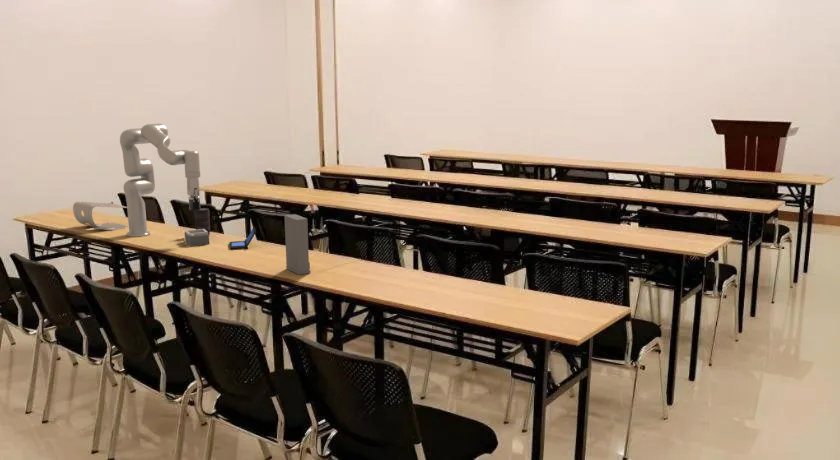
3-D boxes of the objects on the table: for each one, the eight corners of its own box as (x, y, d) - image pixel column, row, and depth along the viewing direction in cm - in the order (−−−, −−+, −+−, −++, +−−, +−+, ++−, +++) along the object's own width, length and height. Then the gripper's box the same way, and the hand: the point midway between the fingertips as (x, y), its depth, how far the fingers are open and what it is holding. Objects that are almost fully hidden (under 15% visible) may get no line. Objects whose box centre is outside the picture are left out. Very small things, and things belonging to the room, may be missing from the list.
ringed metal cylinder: (188, 209, 384) (187, 196, 382) (199, 208, 386) (198, 195, 385) (190, 211, 379) (189, 198, 377) (201, 210, 381) (200, 197, 380)
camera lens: (213, 234, 409) (211, 208, 406) (207, 237, 401) (205, 210, 398) (199, 233, 409) (197, 207, 406) (193, 236, 401) (191, 210, 398)
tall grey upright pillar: (311, 273, 322) (309, 218, 317) (298, 275, 318) (296, 220, 313) (298, 267, 333) (296, 214, 328) (286, 268, 330) (284, 215, 325)
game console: (229, 244, 383) (228, 227, 381) (255, 242, 386) (254, 226, 385) (229, 250, 368) (228, 233, 367) (256, 248, 372) (255, 231, 370)
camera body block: (185, 241, 390) (184, 229, 389) (203, 239, 395) (203, 228, 393) (190, 246, 378) (189, 234, 377) (209, 244, 382) (208, 232, 381)
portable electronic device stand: (74, 227, 428) (71, 202, 425) (112, 222, 446) (110, 197, 443) (94, 233, 412) (91, 206, 409) (133, 227, 429) (131, 201, 426)
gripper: (182, 173, 385) (184, 206, 388) (188, 176, 370) (190, 211, 373) (196, 172, 388) (198, 205, 392) (203, 175, 373) (205, 210, 377)
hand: (194, 208), depth 382 cm, fingers closed on ringed metal cylinder, 5 cm apart
